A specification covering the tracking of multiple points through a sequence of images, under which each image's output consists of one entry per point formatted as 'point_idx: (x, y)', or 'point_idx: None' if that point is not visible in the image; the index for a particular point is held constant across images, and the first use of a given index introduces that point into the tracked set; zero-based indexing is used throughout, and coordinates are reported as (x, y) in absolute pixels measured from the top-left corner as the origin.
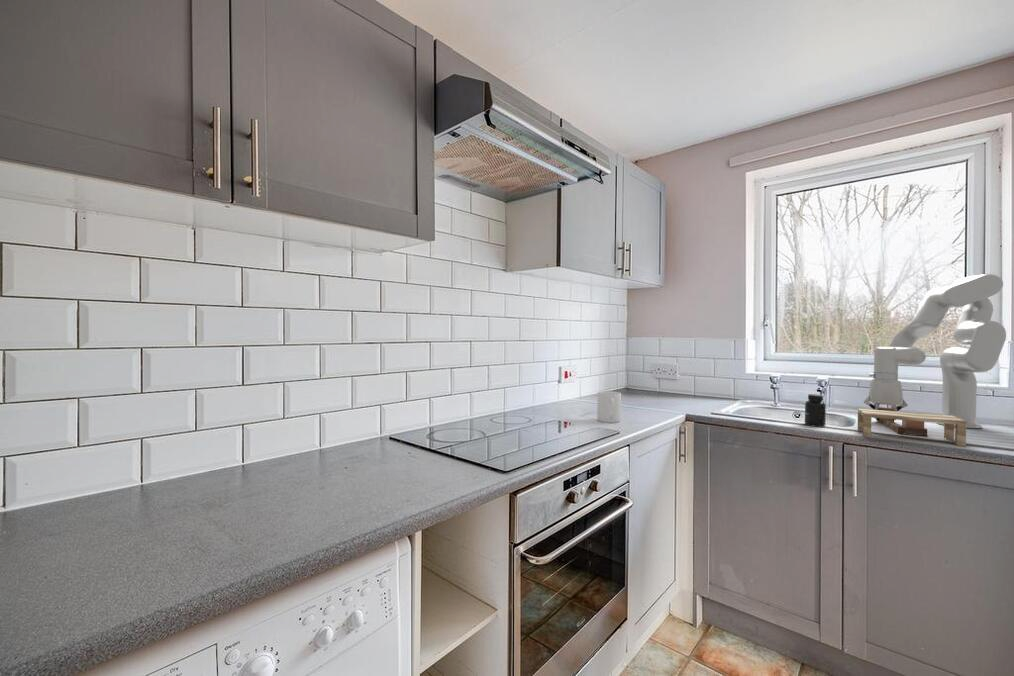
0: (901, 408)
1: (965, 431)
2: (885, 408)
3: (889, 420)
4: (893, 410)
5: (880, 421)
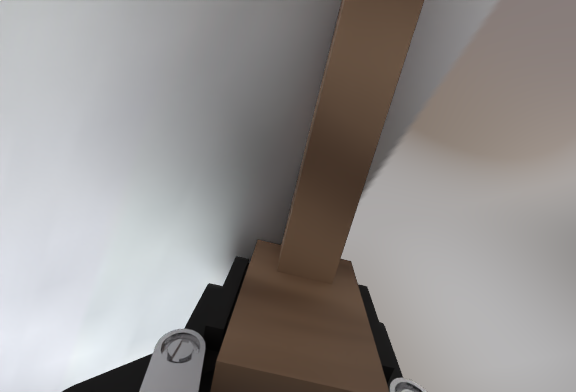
0: (69, 389)
1: None
2: None
3: (339, 145)
4: (203, 358)
5: (348, 266)
